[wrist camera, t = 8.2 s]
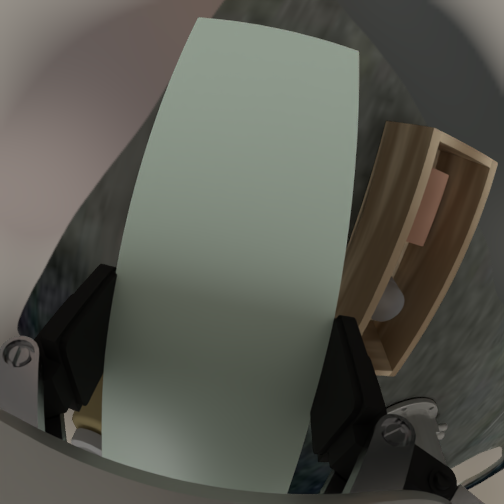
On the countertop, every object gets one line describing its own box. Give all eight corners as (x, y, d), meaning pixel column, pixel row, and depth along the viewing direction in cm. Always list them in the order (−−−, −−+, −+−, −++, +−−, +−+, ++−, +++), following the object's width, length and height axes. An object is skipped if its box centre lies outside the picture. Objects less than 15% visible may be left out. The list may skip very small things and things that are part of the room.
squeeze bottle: (171, 382, 35) (133, 507, 19) (116, 374, 36) (67, 484, 20) (156, 335, 32) (98, 478, 16) (97, 329, 32) (26, 448, 16)
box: (441, 144, 21) (497, 162, 14) (372, 319, 29) (394, 376, 22) (386, 120, 21) (434, 127, 14) (321, 311, 29) (334, 371, 22)
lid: (341, 80, 13) (358, 51, 11) (270, 482, 11) (278, 514, 9) (200, 51, 13) (198, 17, 10) (119, 456, 11) (103, 485, 8)
